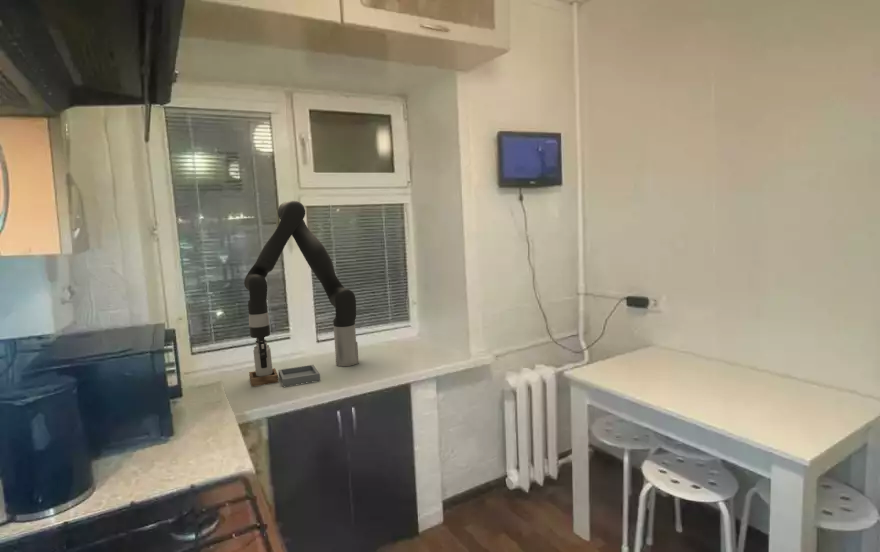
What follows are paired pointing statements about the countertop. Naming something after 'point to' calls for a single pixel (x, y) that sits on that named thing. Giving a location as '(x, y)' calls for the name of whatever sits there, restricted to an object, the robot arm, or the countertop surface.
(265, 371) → the beverage can
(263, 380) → the collar
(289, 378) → the tray
